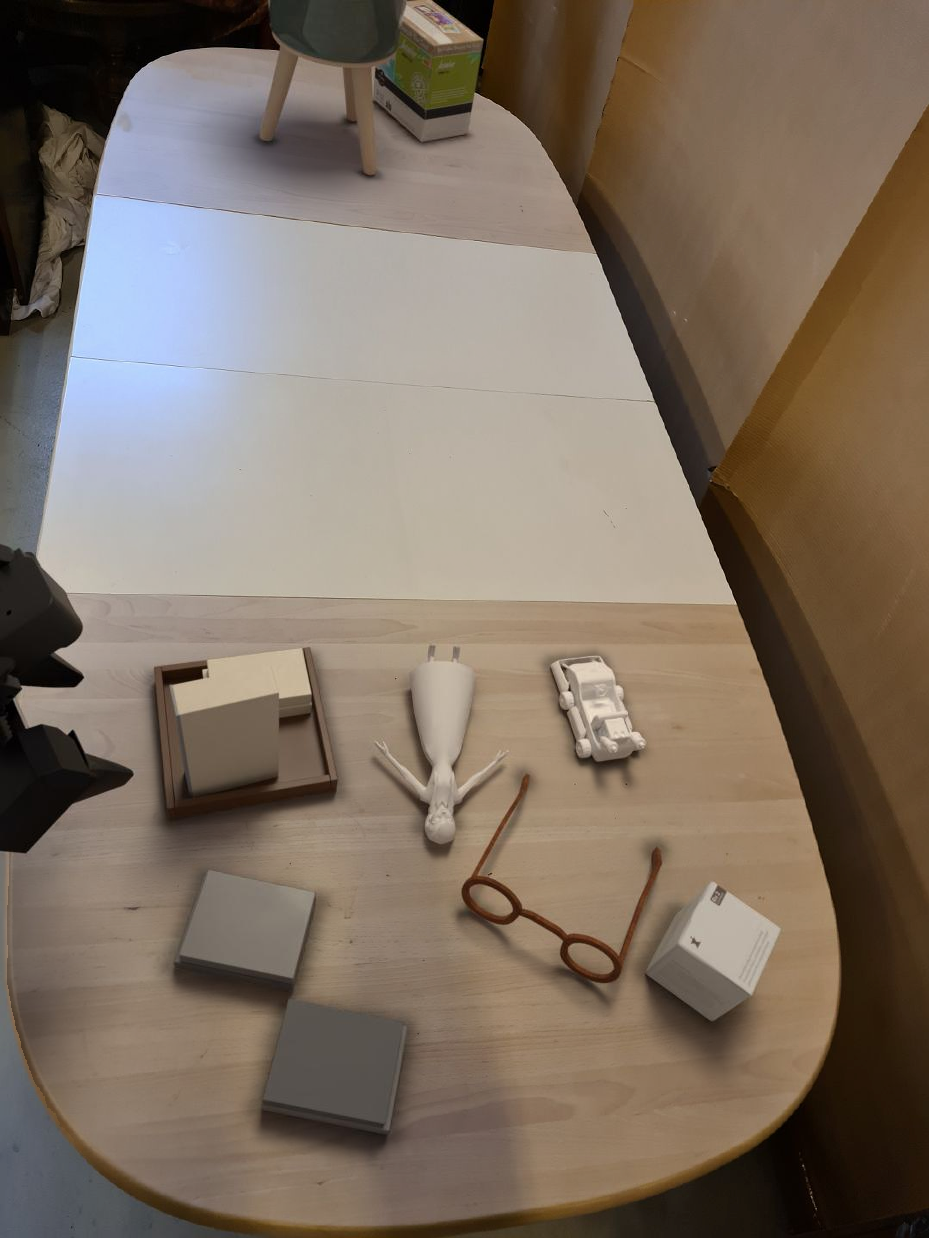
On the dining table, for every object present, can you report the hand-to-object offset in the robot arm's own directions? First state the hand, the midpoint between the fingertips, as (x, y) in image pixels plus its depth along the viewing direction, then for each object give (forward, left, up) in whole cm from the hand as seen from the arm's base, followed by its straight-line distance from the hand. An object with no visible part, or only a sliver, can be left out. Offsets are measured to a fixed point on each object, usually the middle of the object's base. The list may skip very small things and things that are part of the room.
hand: (103, 727), depth 58 cm
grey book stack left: (+8, -11, -13) cm, 19 cm away
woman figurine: (+25, +1, -13) cm, 29 cm away
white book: (+8, +2, -13) cm, 15 cm away
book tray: (+9, +5, -13) cm, 17 cm away
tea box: (+52, +117, -13) cm, 129 cm away
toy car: (+41, +2, -13) cm, 43 cm away
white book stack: (+11, +9, -13) cm, 19 cm away
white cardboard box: (+40, -21, -13) cm, 48 cm away
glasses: (+32, -12, -13) cm, 37 cm away
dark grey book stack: (+12, -22, -13) cm, 28 cm away
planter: (+35, +107, -13) cm, 113 cm away
